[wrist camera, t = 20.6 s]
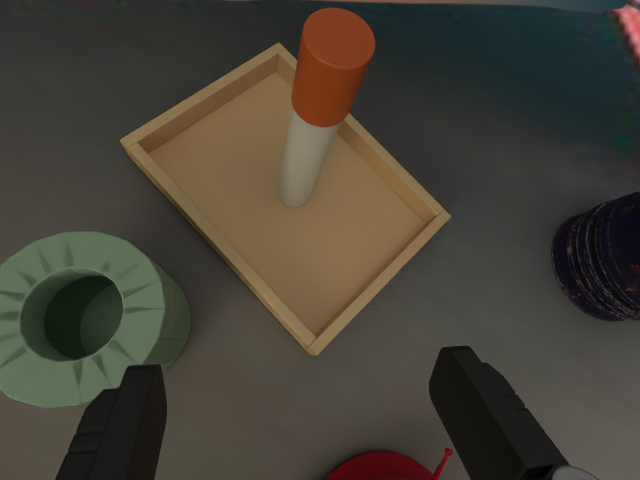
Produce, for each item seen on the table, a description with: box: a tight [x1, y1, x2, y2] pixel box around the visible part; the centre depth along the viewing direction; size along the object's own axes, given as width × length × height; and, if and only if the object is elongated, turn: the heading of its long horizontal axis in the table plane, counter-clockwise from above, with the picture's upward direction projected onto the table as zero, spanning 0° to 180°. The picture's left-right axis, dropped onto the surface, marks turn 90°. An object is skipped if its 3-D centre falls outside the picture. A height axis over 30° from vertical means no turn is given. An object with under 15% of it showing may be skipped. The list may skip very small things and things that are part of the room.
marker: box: [277, 8, 375, 208], centre depth 21 cm, size 3×3×15 cm
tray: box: [120, 43, 451, 356], centre depth 28 cm, size 20×15×3 cm
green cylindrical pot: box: [0, 231, 191, 408], centre depth 20 cm, size 8×8×8 cm
